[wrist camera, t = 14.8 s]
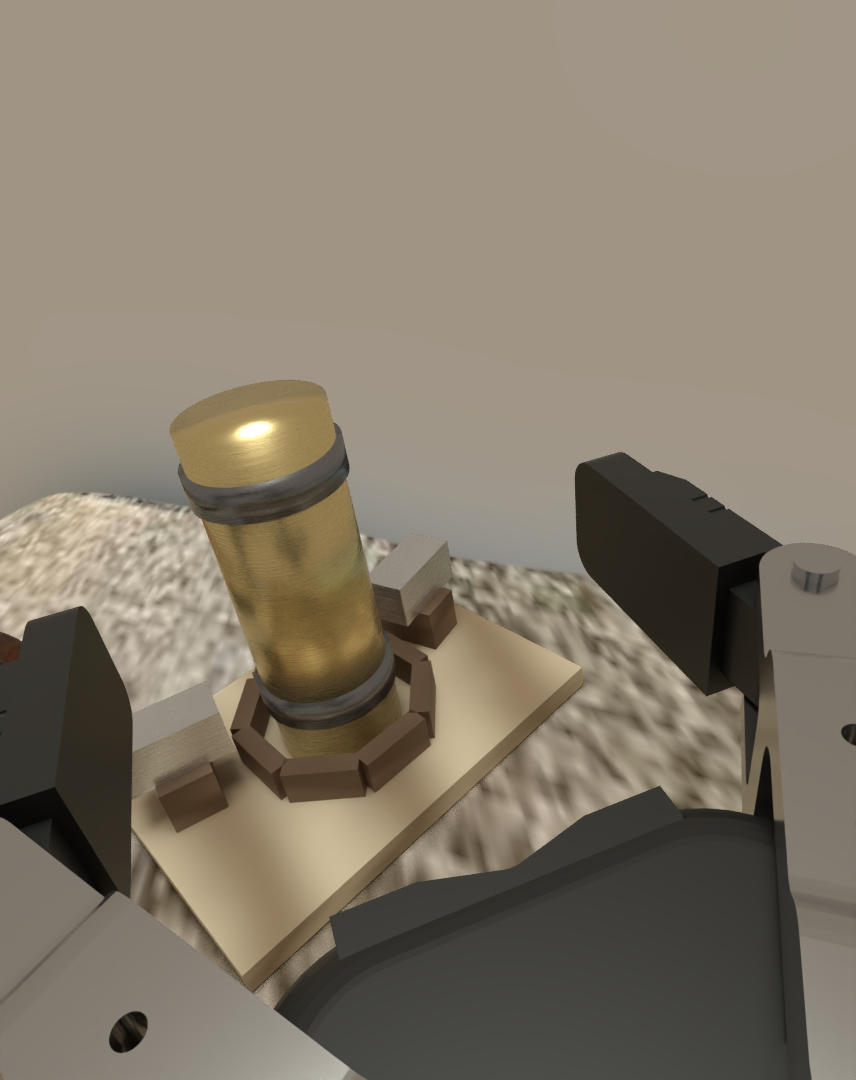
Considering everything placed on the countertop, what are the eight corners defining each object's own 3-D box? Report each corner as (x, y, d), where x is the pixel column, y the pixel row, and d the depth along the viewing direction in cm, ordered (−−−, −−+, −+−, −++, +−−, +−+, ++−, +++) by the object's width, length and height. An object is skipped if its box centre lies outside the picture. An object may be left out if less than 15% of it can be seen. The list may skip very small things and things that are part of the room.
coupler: (329, 797, 28) (216, 464, 20) (254, 729, 31) (134, 425, 24) (433, 713, 30) (366, 393, 23) (352, 659, 34) (272, 368, 27)
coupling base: (251, 992, 23) (222, 940, 21) (102, 790, 31) (73, 740, 29) (582, 684, 32) (580, 631, 30) (400, 589, 40) (390, 542, 38)
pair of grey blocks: (140, 818, 26) (118, 779, 25) (106, 774, 28) (85, 737, 27) (468, 583, 34) (463, 547, 33) (425, 562, 36) (418, 528, 35)
